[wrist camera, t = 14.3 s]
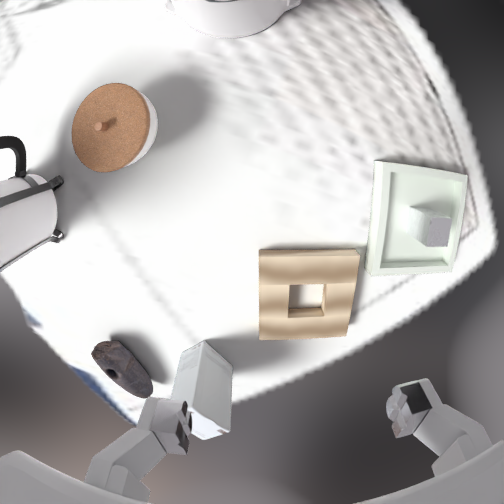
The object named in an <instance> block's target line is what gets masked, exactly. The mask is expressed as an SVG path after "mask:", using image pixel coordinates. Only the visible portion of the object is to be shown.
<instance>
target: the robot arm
mask: <svg viewBox="0 0 504 504" xmlns="http://www.w3.org/2000/svg"><path fill="white" fill-rule="evenodd" d="M300 3H301V0H167V2H166V5H165V8H166V10H167V12H169V13H170V14H173V15H176V16H179V17H181V18H183V19H184V20H185V21H186V22H187V23H188V24H189V25H190V26H191V27H192V28H193V29H195V30H196V31H198V32H200V33H202V34H205V35H208V36H212V37H218V38H238V37H245V36H249V35H252V34H255V33H258V32H260V31H262V30H264V29H266V28H268V27H269V26H271V25H272V24H273V23H274V22H275V21H276V20H277V19H278V18H279V17H280V16H281V15H282V14H283V13H284V12H285V11H287V10H290V9H292V8H294V7H296V6H298V5H300ZM392 392H393V395H392V396H391V397H389V399H388V401H387V405H386V410H387V415H388V418H389V419H391V420H392V421H393V424H392V428H393V431H394V434H395V437H396V438H399V437H403V436H406V435H410V434H413V433H414V434H413V435H414V436H416V437H417V438H418V439H419V440H421V441H422V442H423V443H424V444H425V445H426V446H428V447H429V448H430V449H431V450H432V451H434V452H435V453H436V454H437V455H438V456H440V458H438V459H437V460H436V461H435V462H434V463H433V465H432V469H433V472H434V475H435V477H434V478H431V479H429V480H427V481H424V482H422V483H419V484H417V485H414V486H412V487H409V488H406V489H403V490H400V491H398V492H395V493H391V494H389V495H385V496H382V497H378V498H375V499H371V500H367V501H363V502H359V503H355V504H504V439H502V440H501V441H499V442H498V443H496V444H495V445H492V443H491V441H490V439H489V437H488V435H487V433H486V431H485V430H484V428H483V426H482V425H481V424H480V423H478V422H476V421H474V420H472V419H470V418H469V417H467V416H465V415H463V414H462V413H460V412H458V411H457V410H455V409H453V408H452V407H450V406H448V405H446V404H444V405H443V404H442V402H441V400H440V399H439V397H438V395H437V393H436V392H435V390H434V388H433V386H432V384H431V383H430V381H429V380H428V379H427V378H424V379H421V380H417V381H412V382H409V383H405V384H401V385H397V386H395V387H394V388H393V390H392ZM187 408H188V404H187V402H186V401H183V400H173V399H165V398H158V397H150V396H149V397H148V398H147V399H146V401H145V404H144V406H143V409H142V412H141V415H140V418H139V421H138V424H137V426H136V428H132V429H130V430H129V431H128V432H126V433H125V434H124V435H123V436H121V437H120V438H118V439H117V440H115V441H114V442H113V443H111V444H110V445H109V446H107V447H106V448H104V449H103V450H102V451H100V452H99V453H97V454H96V455H95V456H93V458H92V461H91V464H90V466H89V469H88V471H87V474H86V477H85V479H84V482H82V481H79V480H77V479H75V478H73V477H70V476H68V475H66V474H64V473H62V472H59V471H57V470H55V469H53V468H51V467H49V466H47V465H45V464H43V463H42V462H40V461H38V460H36V459H34V458H33V457H31V456H29V455H27V454H26V453H24V452H22V451H14V452H11V453H9V454H6V455H4V456H2V457H0V504H152V503H148V499H149V495H150V490H149V488H148V487H147V486H145V485H144V484H143V483H142V482H141V481H140V480H141V479H142V478H143V477H144V476H145V475H146V474H147V473H148V472H149V471H150V470H151V469H152V468H153V467H154V466H155V465H156V464H157V463H158V462H159V461H160V460H161V459H162V458H163V457H164V456H165V455H166V454H167V453H173V454H183V455H187V452H188V447H189V439H188V437H187V436H188V435H189V434H190V433H191V431H192V415H191V412H190V411H188V410H187Z"/></svg>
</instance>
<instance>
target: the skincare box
mask: <svg viewBox="0 0 504 504" xmlns="http://www.w3.org/2000/svg"><path fill="white" fill-rule="evenodd" d="M232 372H233V366H232V365H231V364H230V363H228V362H227V361H226V360H225V359H224V358H223V357H222V356H221V355H220V354H218V353H217V352H216V351H215V350H214V349H213V348H212V347H211V346H210V345H209V344H207V343H206V342H205V341H203V342H201V343H199V344H197V345H195V346H193V347H191V348H189V349H187V350H186V351H184V352H183V353H182V354H181V357H180V361H179V365H178V369H177V374H176V378H175V382H174V386H173V390H172V395H171V399H173V400H183V401H186V402H187V404H188V408H187V410H188V411H190V412H191V415H192V431H191V433H192V434H194V435H196V436H197V437H199V438H201V439H202V440H205V439H209V438H212V437H215V436H218V435H222V434H224V433H227V432H230V426H231V397H232Z"/></svg>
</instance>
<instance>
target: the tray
mask: <svg viewBox="0 0 504 504" xmlns="http://www.w3.org/2000/svg"><path fill="white" fill-rule="evenodd" d="M467 179H468V175H464V174H460V173H456V172H451V171H445V170H440V169H434V168H428V167H421V166H415V165H407V164H400V163H392V162H383V161H374V174H373V191H372V205H371V216H370V226H369V235H368V243H367V251H366V258H365V265H364V268H365V269H366V271H367V272H368V273H369V274H370V276H390V275H410V274H428V273H445V272H452V269H453V265H454V261H455V256H456V252H457V247H458V243H459V237H460V232H461V226H462V220H463V214H464V207H465V199H466V190H467ZM409 206H410V207H424V208H431V209H433V210H435V211H438V212H440V213H442V214H444V215H446V216H448V217H450V218H452V225H451V230H450V236H449V241H448V246H447V247H426V246H425V245H423V244H422V243H420V242H419V241H417V240H416V239H415V238H413V237H412V236H410V235H409V234H407V233H406V229H407V222H408V214H409Z"/></svg>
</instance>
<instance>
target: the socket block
mask: <svg viewBox="0 0 504 504" xmlns="http://www.w3.org/2000/svg"><path fill="white" fill-rule="evenodd" d="M359 260H360V255H359V254H358V253H357V251H356V250H355V249H319V250H259V340H288V339H311V338H328V337H341V336H346V334H347V329H348V325H349V320H350V315H351V309H352V304H353V298H354V293H355V287H356V281H357V274H358V267H359ZM301 284H324V289H323V297H322V305H321V308H297V309H288V304H289V286H290V285H301Z"/></svg>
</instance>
